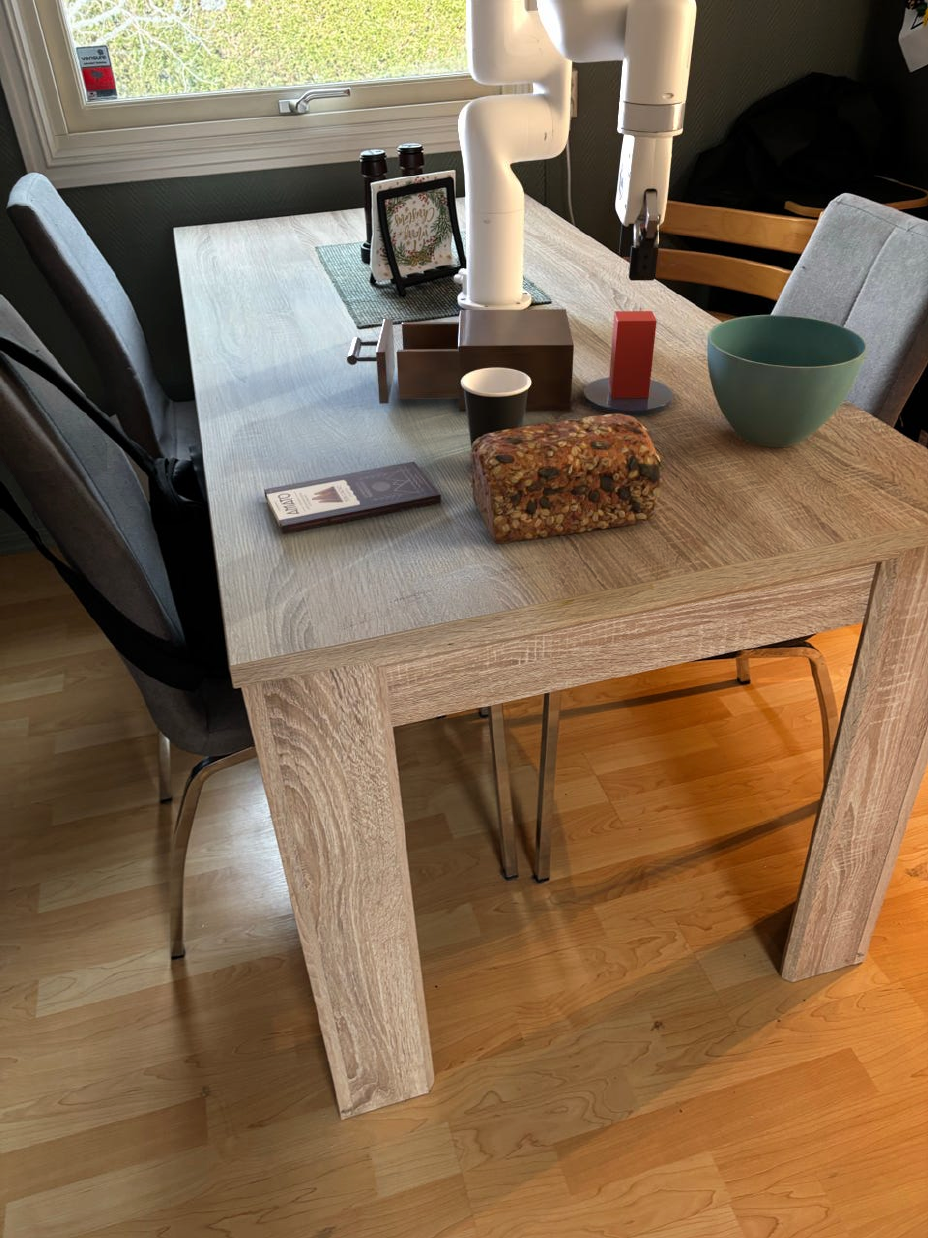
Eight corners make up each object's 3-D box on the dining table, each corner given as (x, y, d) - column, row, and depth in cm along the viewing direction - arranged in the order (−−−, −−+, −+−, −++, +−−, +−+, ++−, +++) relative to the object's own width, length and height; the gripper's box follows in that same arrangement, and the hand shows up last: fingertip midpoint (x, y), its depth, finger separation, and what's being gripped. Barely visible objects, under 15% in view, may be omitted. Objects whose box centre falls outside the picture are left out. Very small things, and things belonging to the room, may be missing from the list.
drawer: (347, 404, 130) (342, 352, 126) (357, 367, 141) (353, 318, 137) (481, 403, 130) (481, 351, 126) (480, 366, 141) (480, 317, 137)
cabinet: (459, 411, 130) (458, 345, 125) (461, 371, 142) (460, 309, 137) (570, 410, 130) (574, 344, 125) (562, 370, 142) (565, 308, 136)
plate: (565, 398, 133) (565, 392, 133) (620, 374, 140) (620, 369, 140) (635, 423, 126) (636, 418, 126) (690, 397, 133) (690, 392, 133)
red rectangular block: (611, 398, 131) (617, 320, 125) (608, 387, 134) (614, 310, 128) (648, 398, 131) (656, 320, 125) (644, 386, 134) (652, 310, 128)
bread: (624, 482, 113) (631, 400, 107) (659, 527, 104) (669, 441, 99) (467, 501, 110) (466, 418, 104) (490, 549, 101) (491, 461, 95)
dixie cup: (536, 479, 114) (539, 389, 107) (470, 487, 112) (469, 396, 106) (518, 450, 120) (520, 364, 114) (455, 457, 119) (454, 370, 112)
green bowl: (762, 478, 113) (781, 377, 106) (666, 422, 126) (677, 328, 119) (876, 446, 120) (901, 348, 113) (774, 395, 133) (790, 305, 126)
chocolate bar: (440, 494, 109) (281, 525, 104) (441, 501, 109) (283, 533, 104) (414, 461, 116) (263, 489, 110) (414, 468, 116) (265, 496, 111)
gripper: (610, 105, 120) (599, 248, 131) (628, 131, 106) (614, 289, 117) (671, 104, 120) (655, 247, 130) (696, 131, 106) (677, 289, 117)
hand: (636, 267), depth 124 cm, fingers open, 9 cm apart
